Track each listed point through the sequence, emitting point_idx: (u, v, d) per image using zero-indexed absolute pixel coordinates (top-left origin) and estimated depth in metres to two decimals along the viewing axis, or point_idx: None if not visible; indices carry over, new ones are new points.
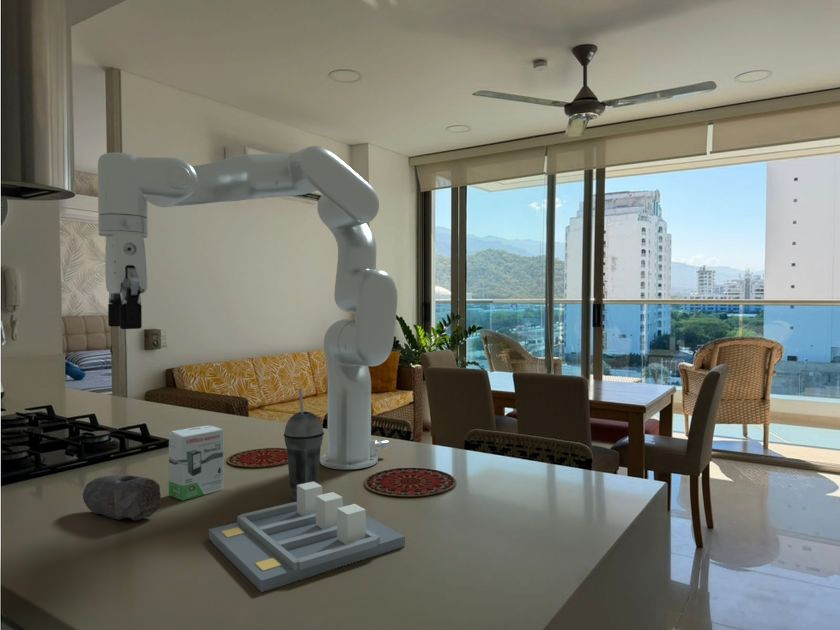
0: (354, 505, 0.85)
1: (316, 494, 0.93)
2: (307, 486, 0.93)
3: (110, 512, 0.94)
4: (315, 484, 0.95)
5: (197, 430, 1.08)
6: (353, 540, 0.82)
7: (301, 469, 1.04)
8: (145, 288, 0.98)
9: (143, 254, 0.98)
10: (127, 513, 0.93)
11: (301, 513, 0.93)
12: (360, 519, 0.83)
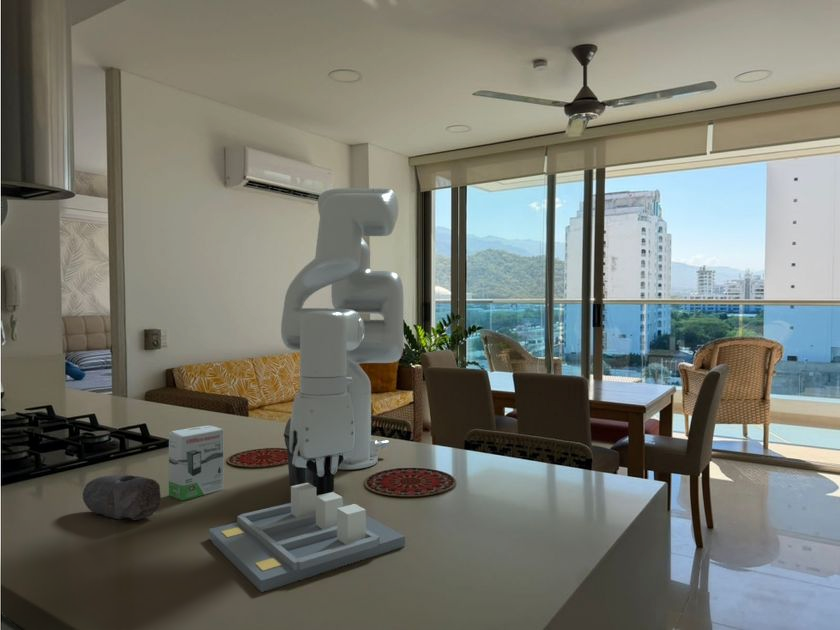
0: (354, 505, 0.85)
1: (310, 495, 0.93)
2: (301, 488, 0.93)
3: (110, 512, 0.94)
4: (309, 485, 0.94)
5: (197, 430, 1.08)
6: (353, 540, 0.82)
7: (301, 469, 1.04)
8: None
9: None
10: (127, 513, 0.93)
11: (295, 514, 0.93)
12: (360, 519, 0.83)
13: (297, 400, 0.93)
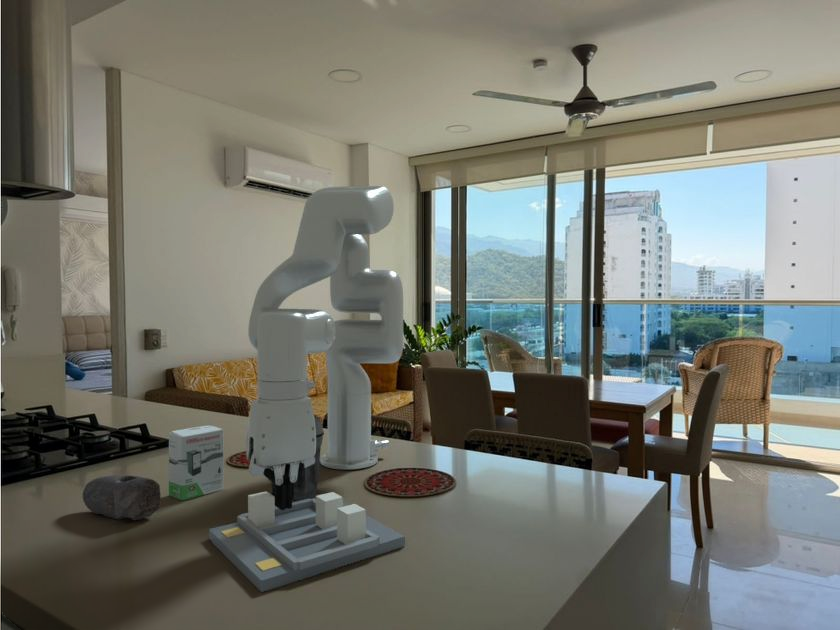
0: (354, 505, 0.85)
1: (268, 505, 0.88)
2: (258, 497, 0.88)
3: (110, 512, 0.94)
4: (267, 494, 0.90)
5: (197, 430, 1.08)
6: (353, 540, 0.82)
7: None
8: None
9: None
10: (127, 513, 0.93)
11: None
12: (360, 519, 0.83)
13: (253, 405, 0.88)
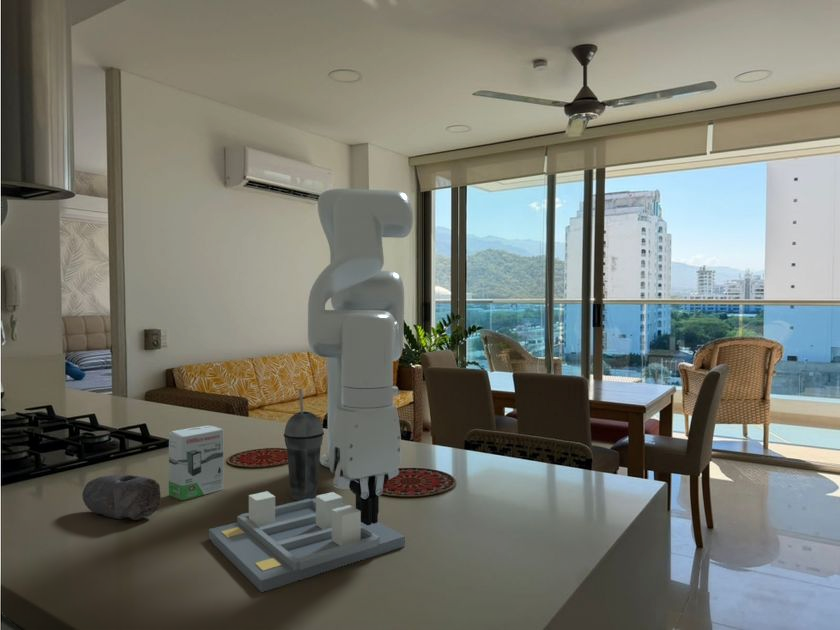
0: (349, 506, 0.85)
1: (268, 505, 0.88)
2: (258, 497, 0.88)
3: (110, 512, 0.95)
4: (268, 494, 0.90)
5: (197, 430, 1.08)
6: (348, 542, 0.82)
7: (301, 469, 1.04)
8: None
9: None
10: (127, 513, 0.93)
11: None
12: (355, 520, 0.82)
13: (339, 413, 0.82)
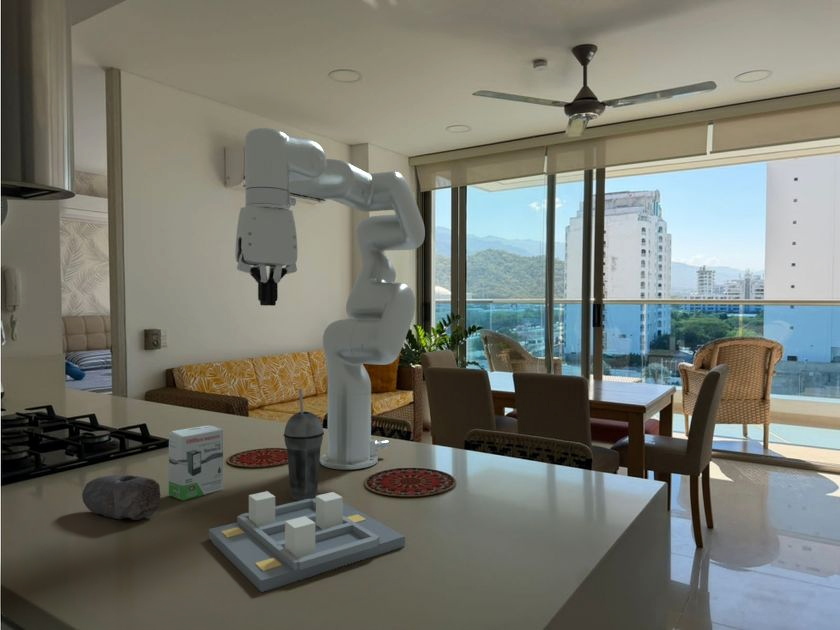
0: (304, 517, 0.80)
1: (268, 505, 0.88)
2: (258, 497, 0.88)
3: (109, 512, 0.95)
4: (268, 494, 0.90)
5: (197, 430, 1.08)
6: (301, 555, 0.77)
7: (301, 469, 1.04)
8: None
9: None
10: (127, 513, 0.93)
11: None
12: (309, 533, 0.78)
13: (241, 210, 1.01)
